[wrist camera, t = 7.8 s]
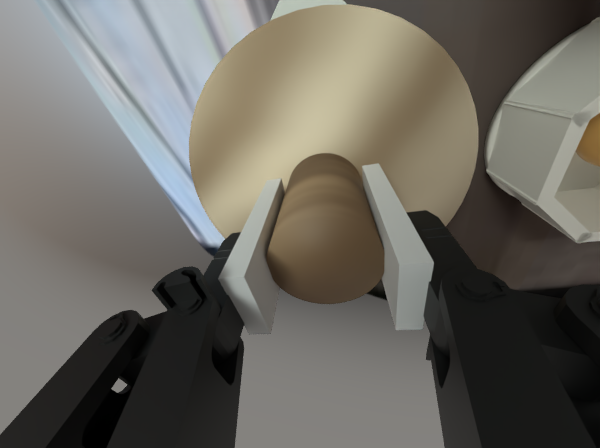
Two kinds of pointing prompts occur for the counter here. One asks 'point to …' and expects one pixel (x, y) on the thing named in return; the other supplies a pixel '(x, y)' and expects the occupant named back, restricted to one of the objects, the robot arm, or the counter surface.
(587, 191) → the bowl
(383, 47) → the lid
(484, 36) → the counter surface
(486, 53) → the counter surface
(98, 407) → the robot arm
